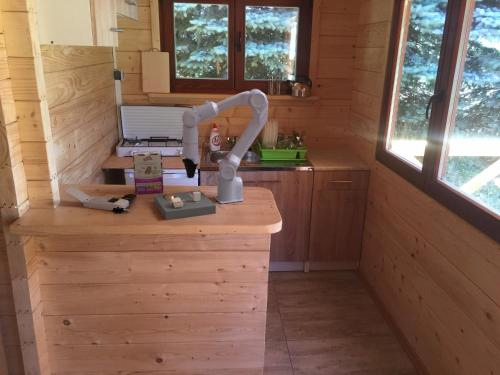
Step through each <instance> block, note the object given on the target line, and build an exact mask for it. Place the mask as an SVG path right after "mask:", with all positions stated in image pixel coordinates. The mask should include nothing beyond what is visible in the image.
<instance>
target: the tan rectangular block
mask: <svg viewBox="0 0 500 375" xmlns="http://www.w3.org/2000/svg"><path fill="white" fill-rule="evenodd" d="M193 201H201V193H200V192H199V191H198V192H193Z"/></svg>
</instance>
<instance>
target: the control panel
mask: <svg viewBox="0 0 500 375" xmlns="http://www.w3.org/2000/svg"><path fill="white" fill-rule="evenodd" d="M198 191H199V192H200V193H201V201H193V192H198ZM166 194H167V193H159V194H154V195H153V203H154V205H155V206H156V208H157V209H158V210H159V212H160V213H161V215H162V217H163V218H164V219H165V220H166V221H169V220H176V219H184V218H191V217H198V216H208V215H214V214H216V213H217V205H216V204H215V203H214V201H212V200H211V199H210V198H208V197H207V196H206V195H205V194H204V192H202V191H201V190H199V189H198V190H189V191H182V192H181V191H179V192H171V193H169V194H173V195H175V198H177V197H179V198H180V199H181V201H182V203H183V207H176V208H175V207H174V205H173V204H172V201H171V199H167V200H165V195H166Z"/></svg>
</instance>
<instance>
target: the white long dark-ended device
mask: <svg viewBox="0 0 500 375" xmlns="http://www.w3.org/2000/svg"><path fill="white" fill-rule="evenodd" d="M63 191H64V192H65V193H66V194H67V195H69V196H71V197H72V198H74V199H75V200H77V201H79V203H81V204H83V207H84V208H90V209H98V210H104V211H111V210H113V208H117V207H119V208H124V209H123V210H124V211H123V212H129V211H130V209H128V207H129V206H130V202H129V200H127V199H122V198H119V197H99V196H90V195H89V194H86V193H85V192H84V191H82V189H80V188H78V186H76V185H73V186H70V187H67V188H66V189H64V190H63Z"/></svg>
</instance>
